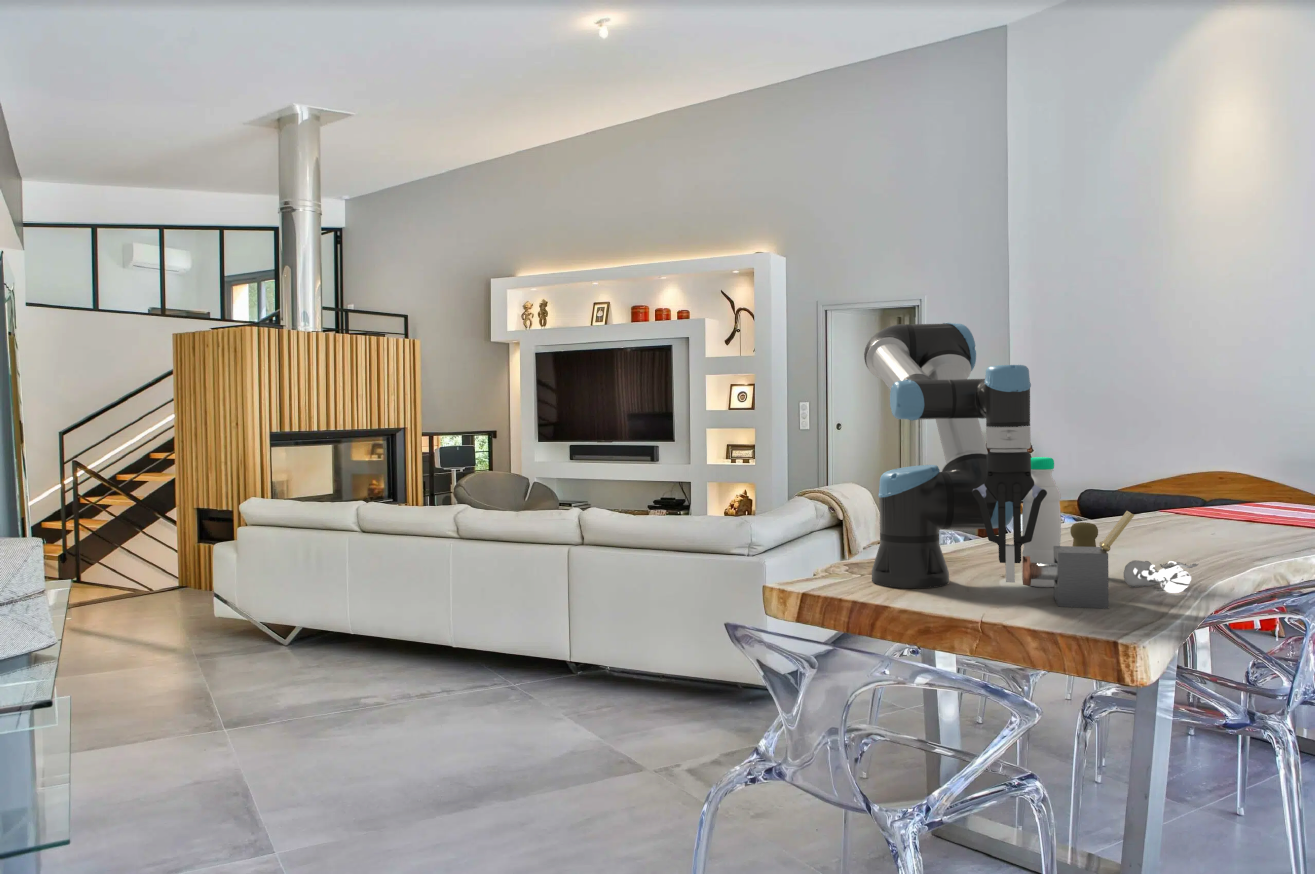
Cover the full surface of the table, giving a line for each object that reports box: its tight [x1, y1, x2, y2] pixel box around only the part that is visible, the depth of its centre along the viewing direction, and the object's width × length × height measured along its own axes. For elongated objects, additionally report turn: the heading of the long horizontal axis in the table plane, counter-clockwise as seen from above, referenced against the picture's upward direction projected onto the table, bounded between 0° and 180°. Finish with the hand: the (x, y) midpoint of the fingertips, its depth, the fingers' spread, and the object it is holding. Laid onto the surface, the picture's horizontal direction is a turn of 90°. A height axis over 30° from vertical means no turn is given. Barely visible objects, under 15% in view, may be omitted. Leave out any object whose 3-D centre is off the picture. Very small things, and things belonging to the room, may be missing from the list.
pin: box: [1021, 555, 1057, 586], centre depth 171 cm, size 13×5×5 cm, turn 73°
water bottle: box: [1021, 456, 1062, 588], centre depth 187 cm, size 7×7×25 cm
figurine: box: [1123, 559, 1199, 594], centre depth 180 cm, size 9×6×12 cm
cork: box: [1070, 521, 1099, 547], centre depth 195 cm, size 6×6×11 cm
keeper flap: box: [1098, 510, 1135, 553], centre depth 168 cm, size 8×4×1 cm
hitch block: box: [1053, 545, 1110, 609], centre depth 170 cm, size 8×8×10 cm
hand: (1010, 580), depth 173 cm, fingers closed
